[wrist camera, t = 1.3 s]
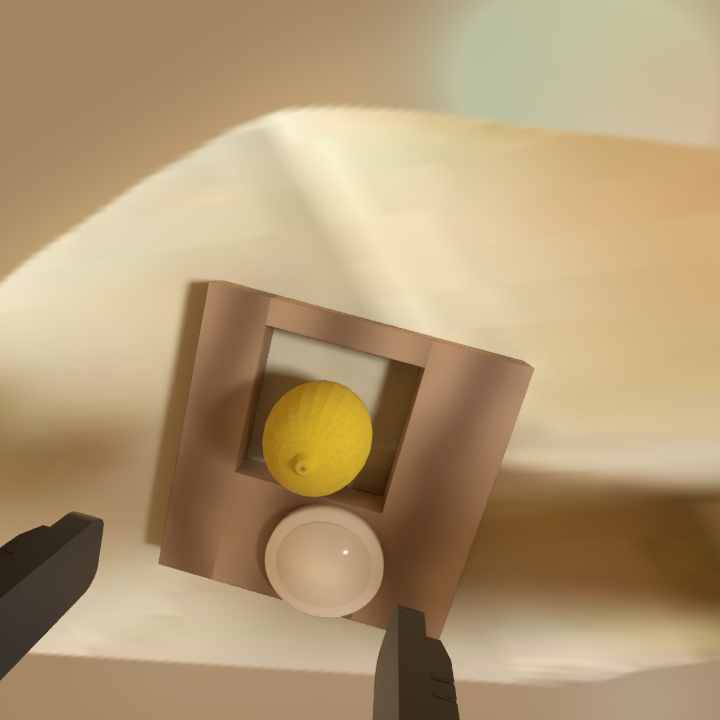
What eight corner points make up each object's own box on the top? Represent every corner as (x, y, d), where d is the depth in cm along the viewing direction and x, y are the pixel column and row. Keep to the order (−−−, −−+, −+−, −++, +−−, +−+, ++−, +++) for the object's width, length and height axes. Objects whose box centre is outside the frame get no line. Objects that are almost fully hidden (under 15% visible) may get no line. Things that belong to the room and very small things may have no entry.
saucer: (397, 522, 25) (397, 531, 25) (367, 620, 27) (366, 632, 26) (282, 489, 26) (278, 497, 25) (258, 589, 27) (253, 599, 26)
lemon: (301, 462, 27) (262, 537, 20) (274, 379, 27) (223, 423, 19) (386, 442, 27) (381, 513, 19) (362, 356, 26) (347, 393, 18)
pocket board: (523, 361, 25) (534, 368, 23) (434, 619, 29) (437, 644, 27) (223, 280, 26) (209, 281, 24) (174, 544, 29) (158, 563, 27)
